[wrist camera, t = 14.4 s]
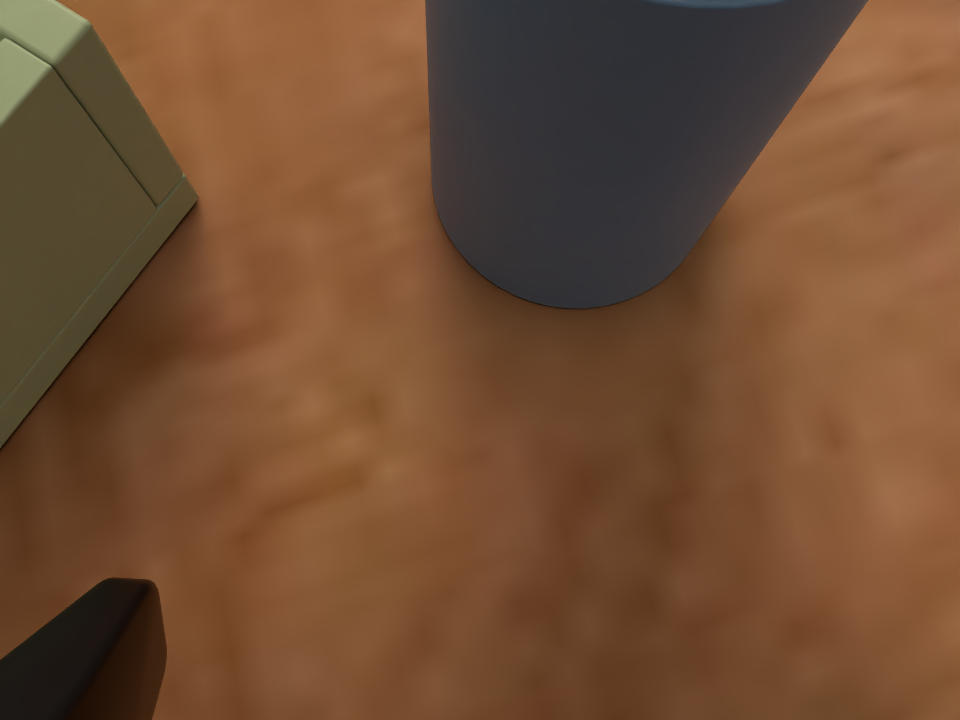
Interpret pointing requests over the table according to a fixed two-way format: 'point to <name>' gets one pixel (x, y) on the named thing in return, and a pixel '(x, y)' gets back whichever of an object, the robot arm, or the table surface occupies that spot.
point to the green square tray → (70, 194)
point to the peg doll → (606, 129)
